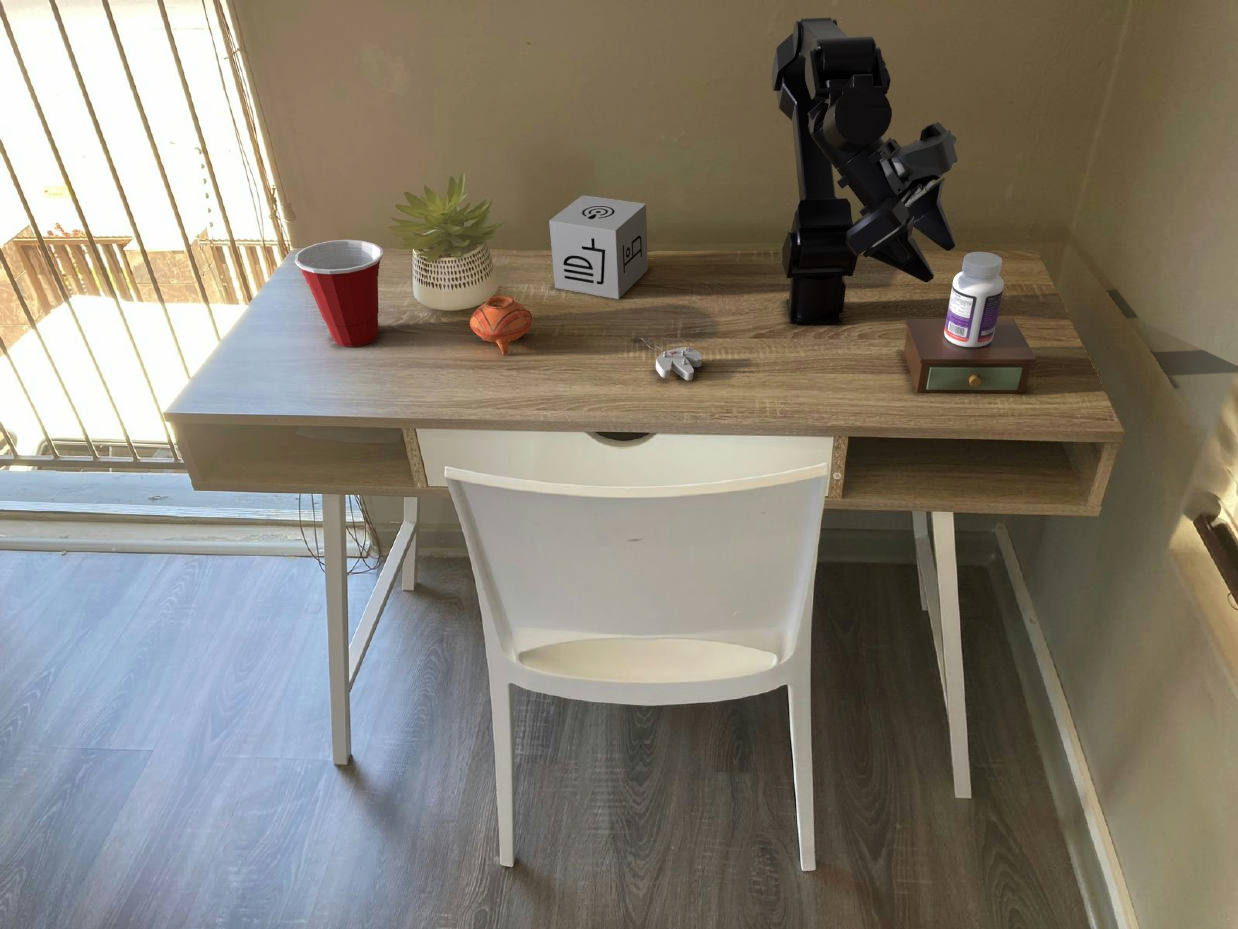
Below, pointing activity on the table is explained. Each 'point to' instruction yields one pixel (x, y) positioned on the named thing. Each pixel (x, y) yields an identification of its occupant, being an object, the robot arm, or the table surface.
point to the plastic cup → (344, 287)
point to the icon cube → (599, 246)
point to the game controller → (678, 362)
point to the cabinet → (967, 360)
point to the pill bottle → (975, 301)
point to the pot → (501, 321)
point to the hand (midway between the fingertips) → (941, 263)
